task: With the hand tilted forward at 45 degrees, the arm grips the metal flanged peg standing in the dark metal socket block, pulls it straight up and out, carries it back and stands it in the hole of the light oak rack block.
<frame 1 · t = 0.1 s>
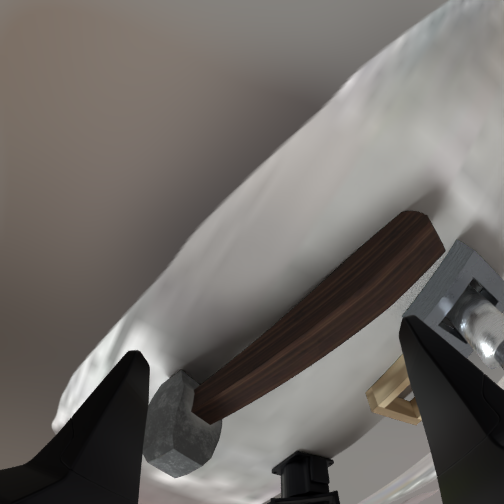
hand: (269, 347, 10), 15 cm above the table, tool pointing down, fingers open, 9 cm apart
socket: (456, 298, 26), on the table
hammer: (281, 321, 28), on the table
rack: (411, 378, 29), on the table
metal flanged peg: (489, 332, 20), in the socket
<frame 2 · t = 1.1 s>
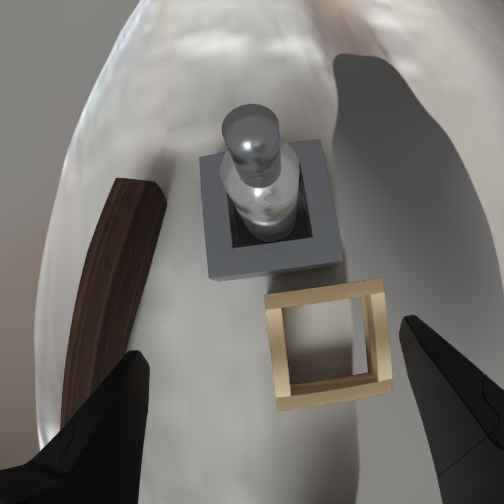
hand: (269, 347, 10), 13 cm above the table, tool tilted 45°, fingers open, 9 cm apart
socket: (270, 216, 24), on the table
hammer: (120, 362, 24), on the table
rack: (326, 341, 22), on the table
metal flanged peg: (263, 185, 18), in the socket
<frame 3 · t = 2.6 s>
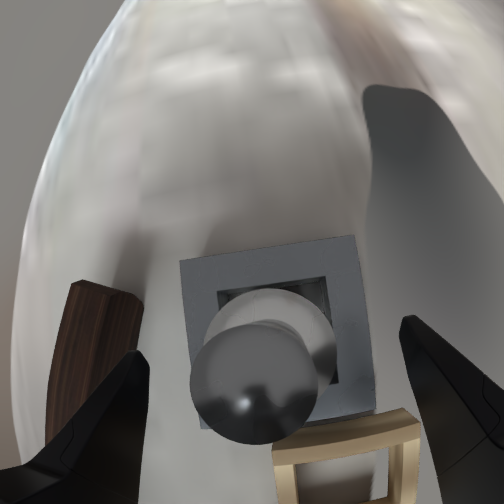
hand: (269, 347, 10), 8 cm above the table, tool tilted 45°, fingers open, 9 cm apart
socket: (279, 334, 18), on the table
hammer: (108, 473, 17), on the table
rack: (343, 473, 15), on the table
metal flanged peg: (273, 346, 11), in the socket
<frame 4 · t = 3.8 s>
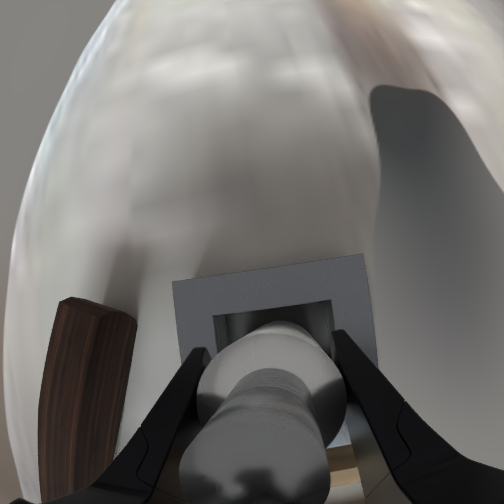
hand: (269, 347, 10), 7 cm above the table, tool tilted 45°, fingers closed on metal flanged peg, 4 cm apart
socket: (281, 357, 16), on the table
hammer: (104, 489, 16), on the table
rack: (346, 495, 14), on the table
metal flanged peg: (275, 385, 10), in the socket, touching gripper
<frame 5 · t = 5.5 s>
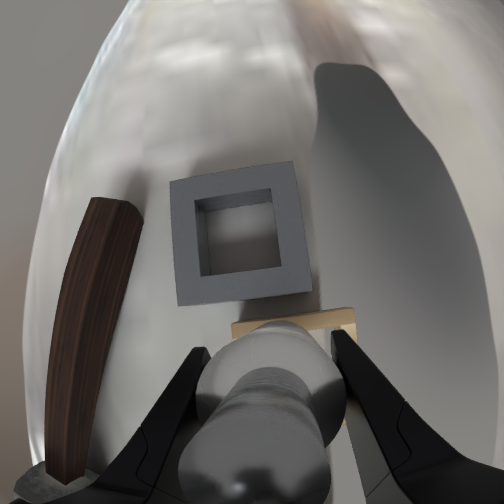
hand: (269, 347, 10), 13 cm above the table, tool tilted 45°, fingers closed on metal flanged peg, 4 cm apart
socket: (242, 240, 24), on the table
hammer: (101, 375, 24), on the table
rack: (298, 367, 22), on the table
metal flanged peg: (274, 384, 10), point 13 cm above the table, touching gripper
when the fingers open (8 cm above the table, at t = 7.3 s): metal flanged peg drops 1 cm, resting in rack.
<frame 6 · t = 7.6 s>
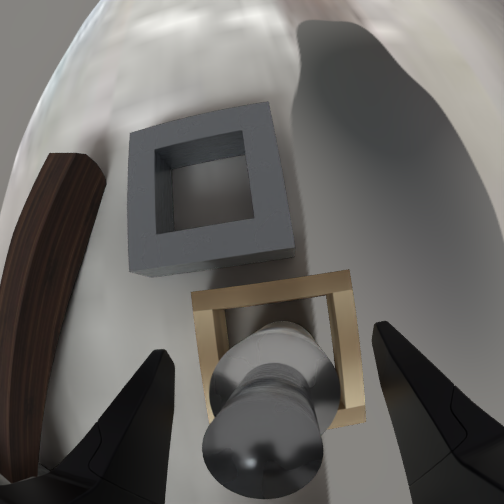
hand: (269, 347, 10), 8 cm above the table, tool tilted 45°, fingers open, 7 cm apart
socket: (212, 198, 20), on the table
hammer: (58, 360, 19), on the table
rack: (281, 353, 17), on the table
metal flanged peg: (277, 379, 11), in the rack
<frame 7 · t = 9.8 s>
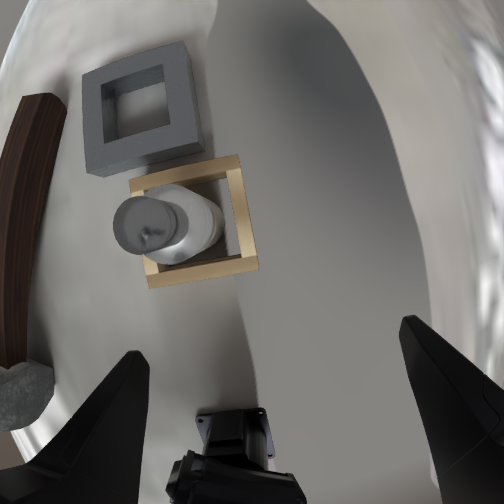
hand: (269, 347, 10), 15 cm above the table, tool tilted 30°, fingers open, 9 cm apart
socket: (145, 114, 23), on the table
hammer: (37, 256, 25), on the table
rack: (198, 222, 24), on the table
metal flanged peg: (179, 224, 18), in the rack
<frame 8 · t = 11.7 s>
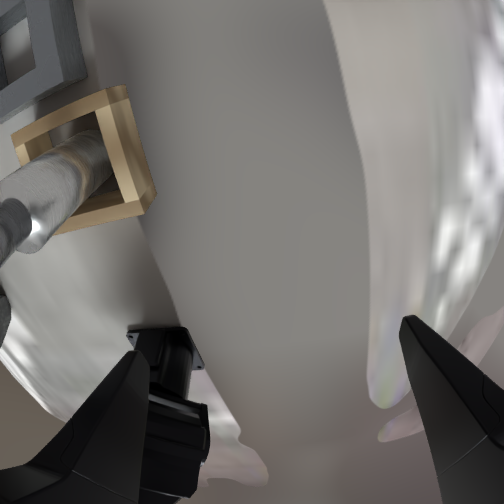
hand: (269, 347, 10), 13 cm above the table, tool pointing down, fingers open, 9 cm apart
socket: (27, 48, 14), on the table
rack: (90, 156, 19), on the table
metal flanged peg: (41, 195, 13), in the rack
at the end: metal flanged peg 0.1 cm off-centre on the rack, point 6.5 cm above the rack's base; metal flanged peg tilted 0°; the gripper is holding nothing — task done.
